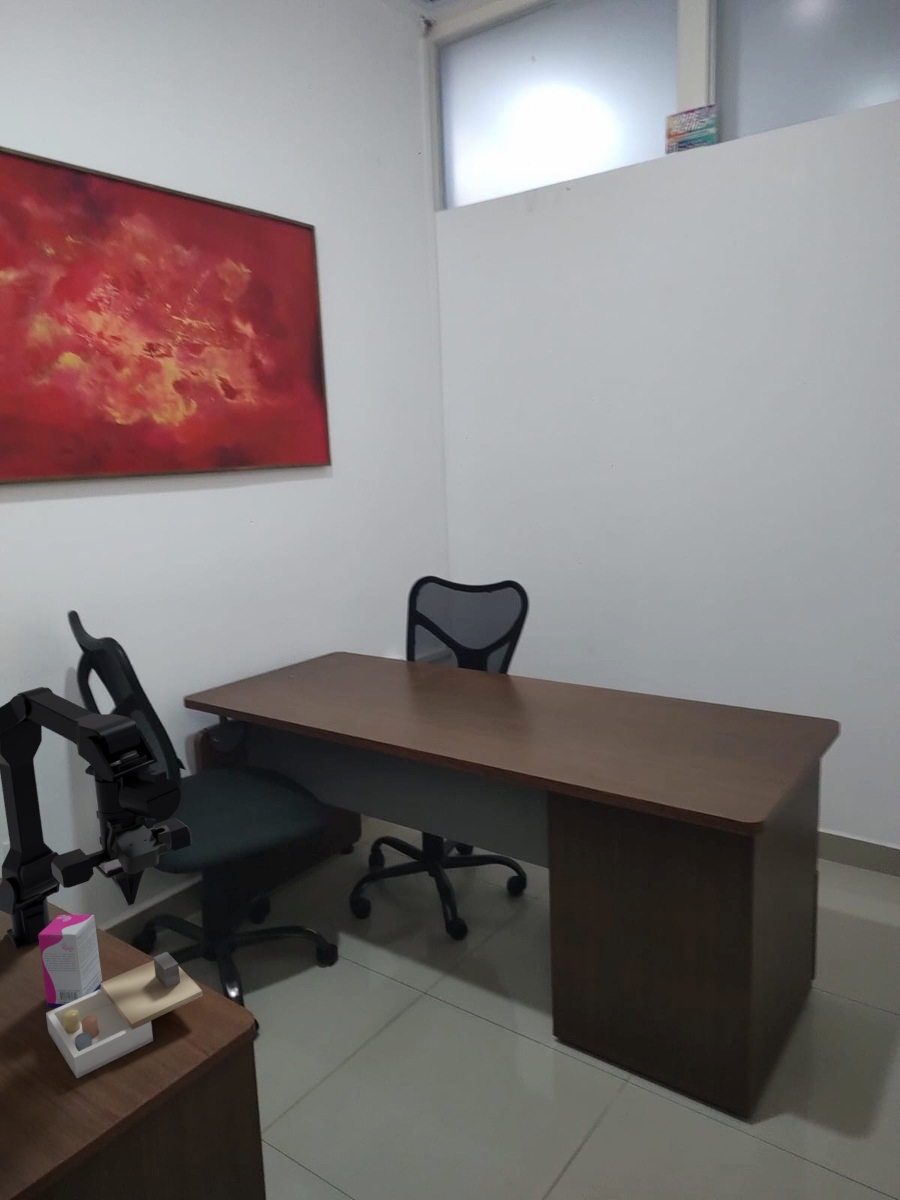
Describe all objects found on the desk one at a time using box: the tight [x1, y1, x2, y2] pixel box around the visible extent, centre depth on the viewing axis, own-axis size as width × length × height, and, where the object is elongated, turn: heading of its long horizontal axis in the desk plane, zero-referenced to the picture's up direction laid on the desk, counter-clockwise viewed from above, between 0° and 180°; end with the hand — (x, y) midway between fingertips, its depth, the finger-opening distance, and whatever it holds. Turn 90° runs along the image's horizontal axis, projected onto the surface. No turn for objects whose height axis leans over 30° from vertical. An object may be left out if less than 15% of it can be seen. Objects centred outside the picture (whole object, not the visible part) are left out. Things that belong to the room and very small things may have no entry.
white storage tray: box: [45, 988, 154, 1079], centre depth 115 cm, size 12×10×3 cm
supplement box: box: [38, 914, 103, 1008], centre depth 123 cm, size 6×6×12 cm
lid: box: [100, 951, 204, 1029], centre depth 119 cm, size 12×10×4 cm
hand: (130, 904), depth 124 cm, fingers closed
